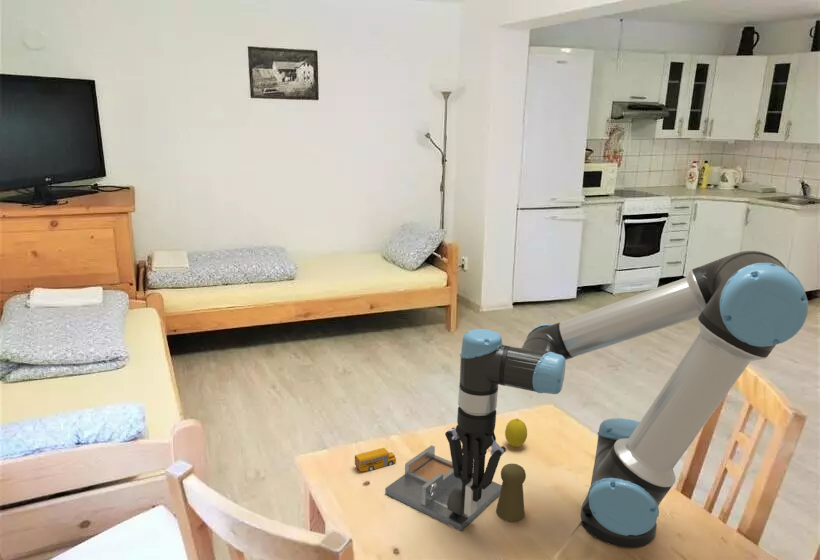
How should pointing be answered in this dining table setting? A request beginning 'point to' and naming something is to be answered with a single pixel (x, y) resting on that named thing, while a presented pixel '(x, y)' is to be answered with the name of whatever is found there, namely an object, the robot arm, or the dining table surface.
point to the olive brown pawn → (511, 493)
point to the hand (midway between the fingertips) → (470, 511)
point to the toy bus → (374, 459)
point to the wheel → (456, 501)
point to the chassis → (435, 489)
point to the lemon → (516, 432)
